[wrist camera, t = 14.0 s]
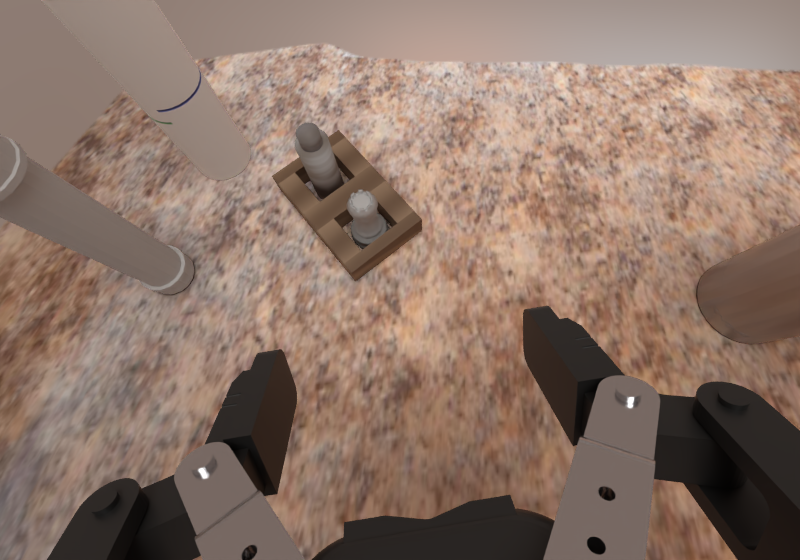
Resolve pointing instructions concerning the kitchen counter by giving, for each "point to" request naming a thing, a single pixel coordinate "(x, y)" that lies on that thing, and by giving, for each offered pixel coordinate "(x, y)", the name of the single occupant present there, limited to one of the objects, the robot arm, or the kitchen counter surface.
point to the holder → (343, 197)
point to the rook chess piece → (365, 218)
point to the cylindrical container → (158, 78)
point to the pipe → (85, 223)
